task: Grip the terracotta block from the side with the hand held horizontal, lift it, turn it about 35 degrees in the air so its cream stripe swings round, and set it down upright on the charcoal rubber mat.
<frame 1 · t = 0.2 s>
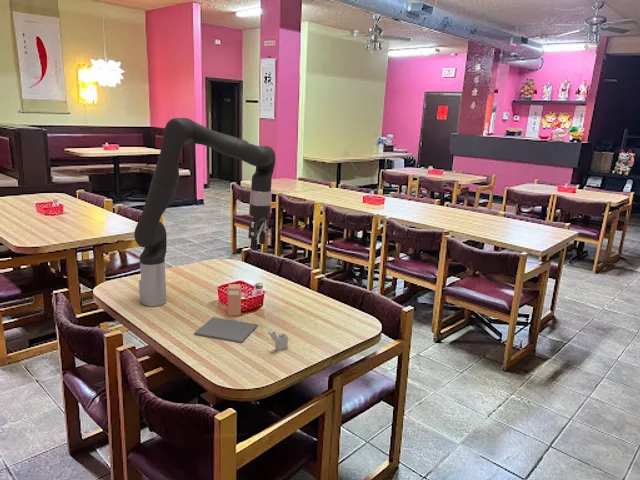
hand: (257, 246, 177), 28 cm above the table, tool pointing down, fingers open, 8 cm apart
mat: (226, 330, 173), on the table
lighter: (277, 350, 161), on the table
block: (234, 312, 188), on the table
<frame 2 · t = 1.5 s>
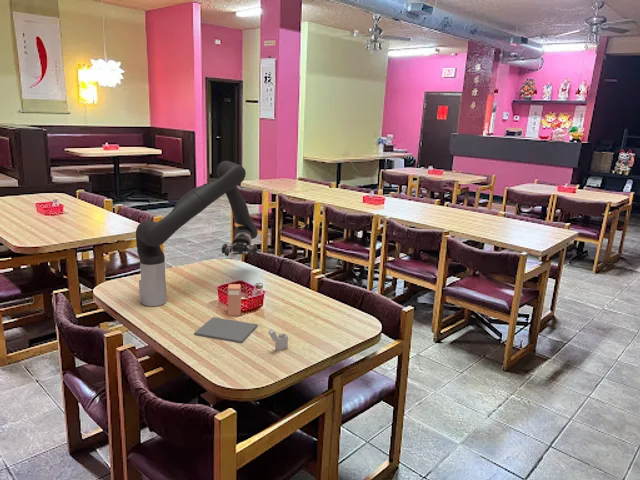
hand: (237, 254, 194), 20 cm above the table, tool horizontal, fingers open, 8 cm apart
nothing on the table moved.
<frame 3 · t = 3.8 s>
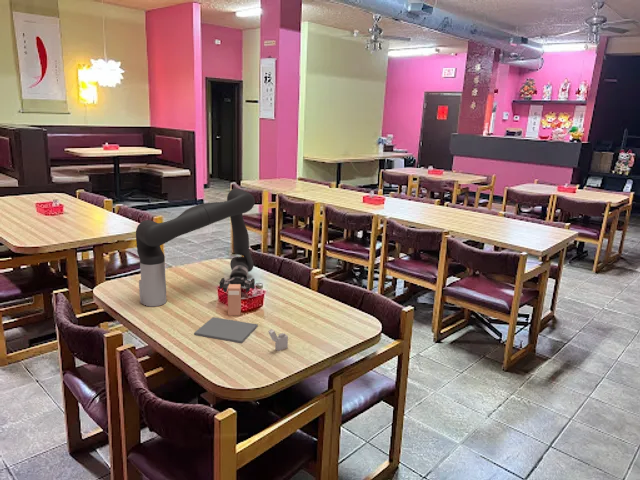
hand: (236, 289, 194), 7 cm above the table, tool horizontal, fingers open, 8 cm apart
nothing on the table moved.
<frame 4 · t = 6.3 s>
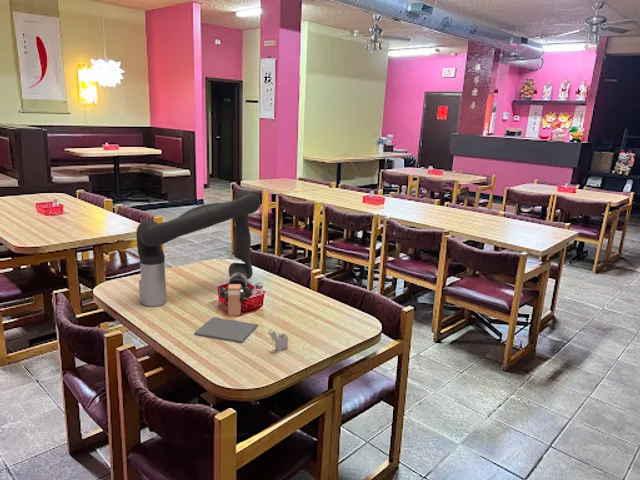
hand: (233, 299, 184), 7 cm above the table, tool horizontal, fingers closed on block, 4 cm apart
block: (234, 312, 188), on the table, touching gripper
everything else where it was.
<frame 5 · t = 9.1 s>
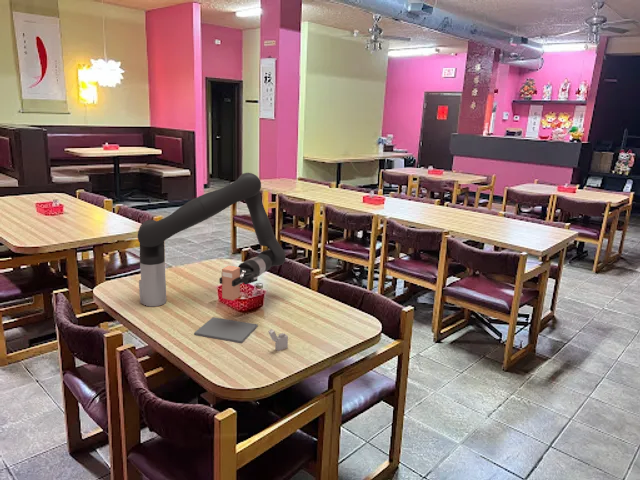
hand: (226, 282, 170), 18 cm above the table, tool horizontal, fingers closed on block, 4 cm apart
block: (231, 297, 174), point 11 cm above the table, touching gripper
everything else where it was.
when the fingers open (9 cm above the table, at t = 12.0 s): block drops 1 cm, resting on mat.
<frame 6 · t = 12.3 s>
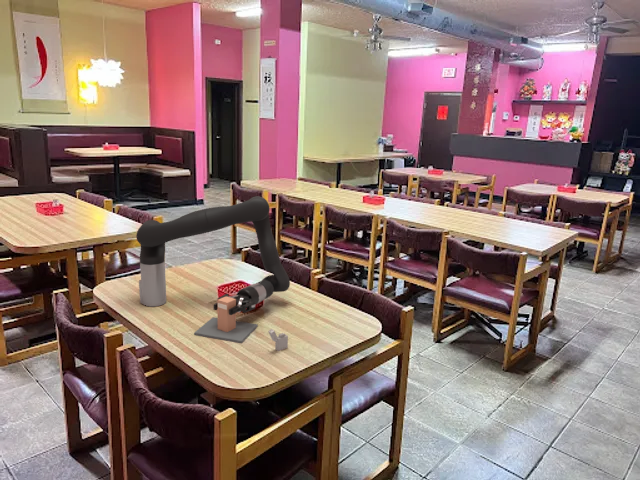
hand: (222, 309, 169), 9 cm above the table, tool horizontal, fingers open, 6 cm apart
block: (226, 328, 173), point 1 cm above the table, touching mat
everything else where it was.
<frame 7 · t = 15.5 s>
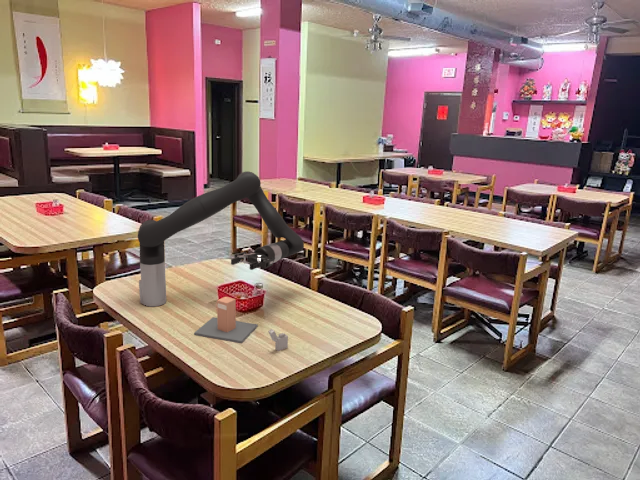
hand: (240, 264, 174), 23 cm above the table, tool horizontal, fingers open, 8 cm apart
nothing on the table moved.
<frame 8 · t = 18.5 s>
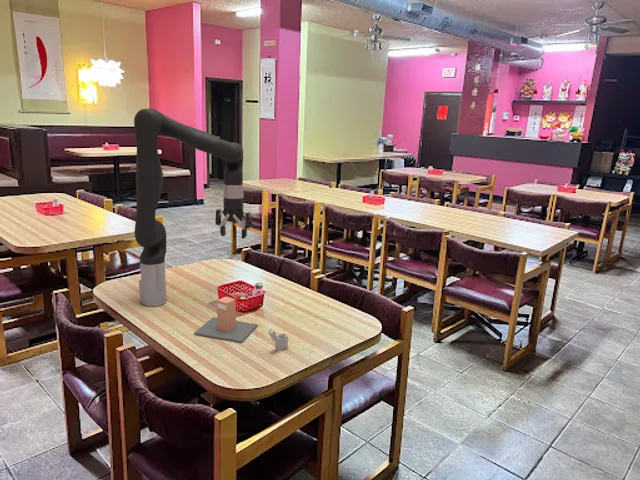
hand: (233, 236, 189), 28 cm above the table, tool pointing down, fingers open, 8 cm apart
nothing on the table moved.
at the end: block inside the target area (0.0 cm from its centre), point 0.8 cm above the table; block tilted 0°; the gripper is holding nothing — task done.
